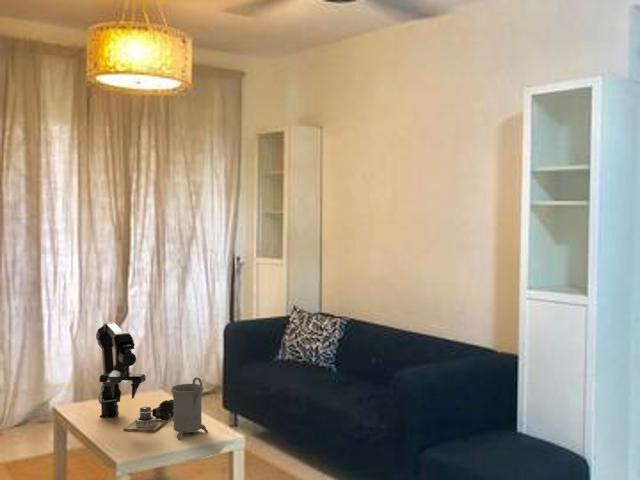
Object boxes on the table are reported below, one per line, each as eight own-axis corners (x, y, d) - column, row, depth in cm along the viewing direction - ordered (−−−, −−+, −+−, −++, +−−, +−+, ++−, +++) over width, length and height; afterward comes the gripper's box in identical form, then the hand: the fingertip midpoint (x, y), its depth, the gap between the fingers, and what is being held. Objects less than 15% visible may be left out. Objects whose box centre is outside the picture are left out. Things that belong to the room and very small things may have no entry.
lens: (138, 425, 287) (138, 409, 287) (142, 422, 292) (142, 406, 291) (148, 426, 286) (148, 409, 286) (152, 422, 291) (152, 406, 291)
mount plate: (123, 430, 283) (123, 422, 283) (137, 420, 297) (137, 413, 297) (154, 432, 281) (154, 424, 281) (167, 422, 295) (167, 414, 295)
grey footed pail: (161, 433, 280) (160, 374, 279) (190, 425, 291) (190, 368, 290) (186, 443, 267) (186, 381, 266) (216, 435, 278) (216, 375, 277)
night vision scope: (172, 416, 311) (187, 404, 309) (154, 429, 294) (170, 416, 292) (162, 403, 312) (177, 390, 310) (144, 415, 295) (159, 401, 293)
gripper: (92, 365, 280) (93, 402, 280) (135, 366, 277) (135, 403, 278) (105, 359, 291) (105, 395, 291) (145, 361, 288) (146, 396, 289)
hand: (122, 397), depth 287 cm, fingers open, 9 cm apart
